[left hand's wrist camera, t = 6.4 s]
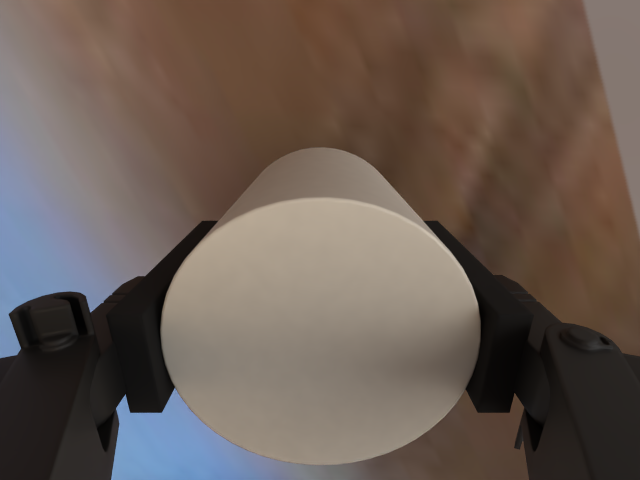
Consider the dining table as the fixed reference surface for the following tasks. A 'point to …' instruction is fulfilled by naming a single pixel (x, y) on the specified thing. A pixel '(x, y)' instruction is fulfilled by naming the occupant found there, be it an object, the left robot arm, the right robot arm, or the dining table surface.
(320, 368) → the canister
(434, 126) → the dining table surface
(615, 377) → the left robot arm
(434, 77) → the dining table surface
